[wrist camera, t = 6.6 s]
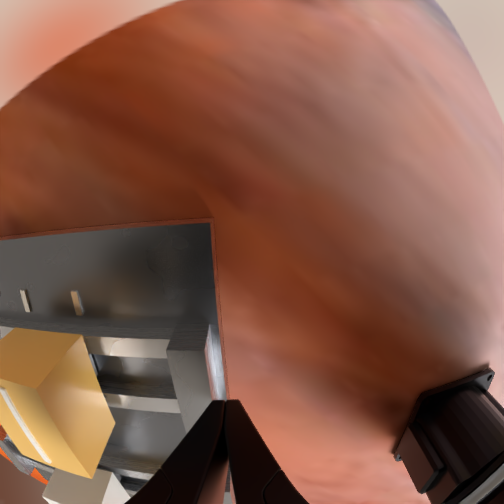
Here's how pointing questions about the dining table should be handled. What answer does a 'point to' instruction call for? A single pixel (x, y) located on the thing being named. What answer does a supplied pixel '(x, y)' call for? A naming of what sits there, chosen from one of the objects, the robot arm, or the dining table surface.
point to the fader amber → (53, 400)
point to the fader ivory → (85, 488)
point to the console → (127, 328)
